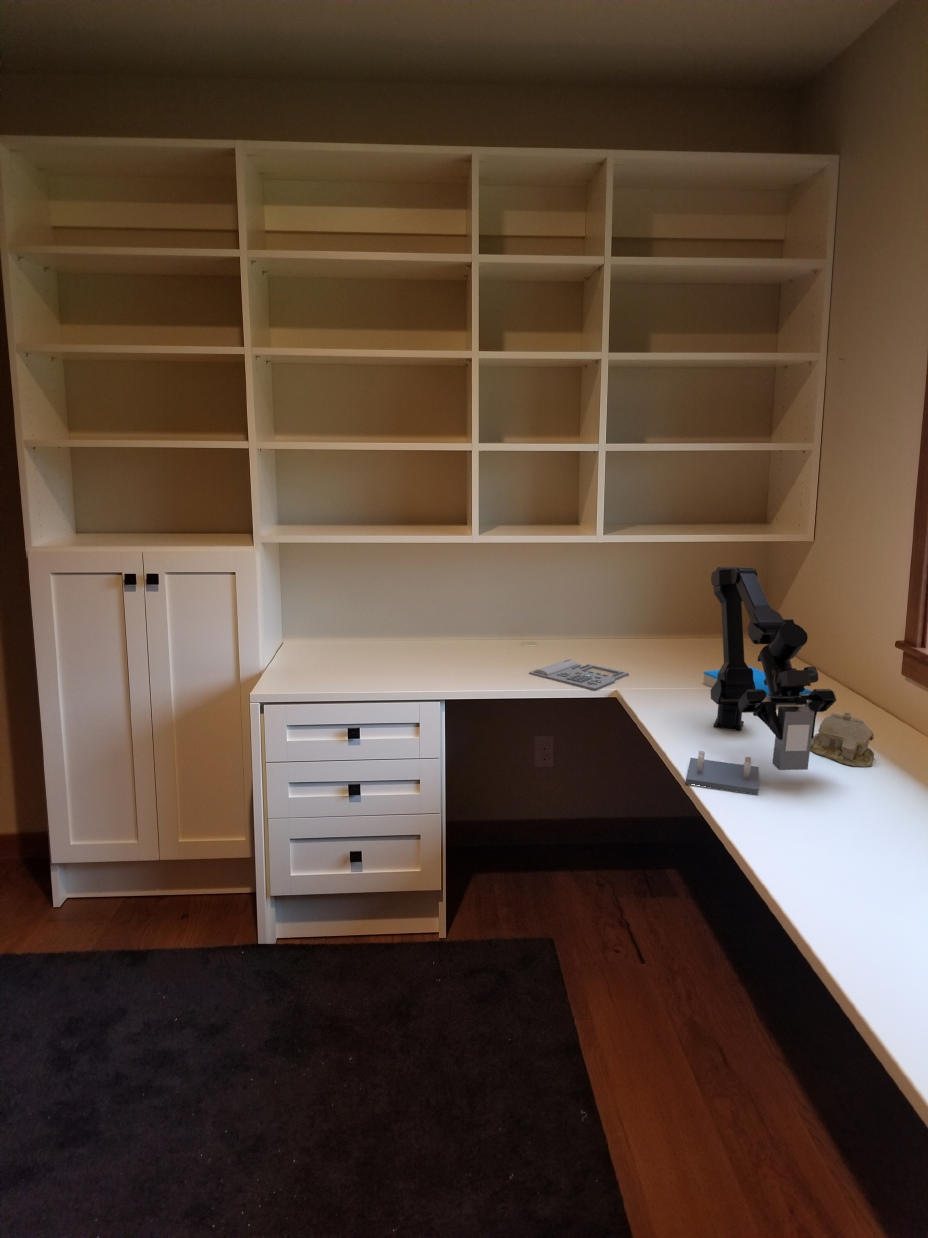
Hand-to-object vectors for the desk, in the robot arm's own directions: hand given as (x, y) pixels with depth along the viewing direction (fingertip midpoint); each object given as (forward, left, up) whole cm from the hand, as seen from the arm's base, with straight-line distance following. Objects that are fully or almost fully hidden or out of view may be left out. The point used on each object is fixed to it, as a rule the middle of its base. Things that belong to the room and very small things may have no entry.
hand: (796, 738), depth 169 cm
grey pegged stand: (+3, -13, -10) cm, 17 cm away
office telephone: (-56, -61, -11) cm, 83 cm away
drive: (-1, -1, -7) cm, 7 cm away
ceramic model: (-23, +9, -10) cm, 27 cm away
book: (-61, -13, -11) cm, 63 cm away
